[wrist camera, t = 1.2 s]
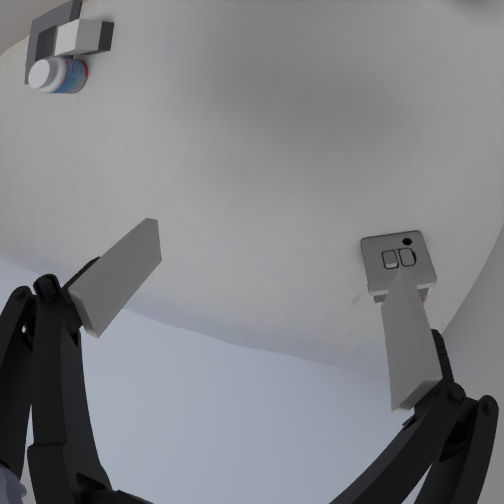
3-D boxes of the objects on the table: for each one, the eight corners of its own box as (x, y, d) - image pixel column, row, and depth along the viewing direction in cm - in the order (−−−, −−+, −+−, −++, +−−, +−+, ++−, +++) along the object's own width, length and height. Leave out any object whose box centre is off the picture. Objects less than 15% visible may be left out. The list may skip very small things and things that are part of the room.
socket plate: (40, 20, 26) (32, 20, 24) (82, 0, 24) (73, -1, 22) (33, 82, 34) (24, 84, 32) (71, 71, 32) (61, 72, 30)
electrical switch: (420, 229, 34) (440, 270, 27) (419, 257, 37) (435, 300, 30) (359, 237, 37) (367, 281, 30) (362, 265, 40) (368, 311, 33)
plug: (93, 29, 28) (58, 26, 21) (114, 23, 27) (79, 18, 20) (89, 54, 30) (54, 55, 24) (110, 50, 30) (74, 49, 23)
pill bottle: (96, 70, 33) (60, 63, 23) (76, 99, 35) (38, 100, 25) (76, 56, 31) (39, 48, 21) (58, 84, 33) (19, 83, 23)
